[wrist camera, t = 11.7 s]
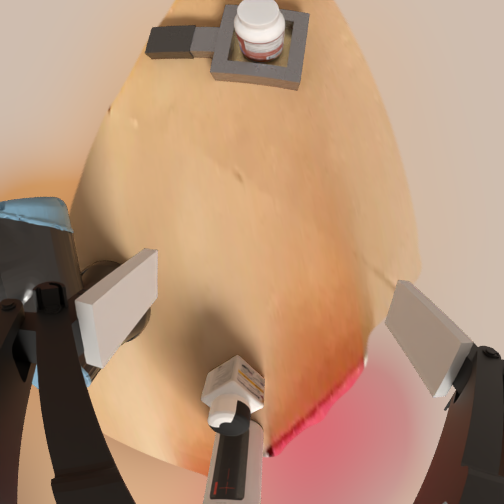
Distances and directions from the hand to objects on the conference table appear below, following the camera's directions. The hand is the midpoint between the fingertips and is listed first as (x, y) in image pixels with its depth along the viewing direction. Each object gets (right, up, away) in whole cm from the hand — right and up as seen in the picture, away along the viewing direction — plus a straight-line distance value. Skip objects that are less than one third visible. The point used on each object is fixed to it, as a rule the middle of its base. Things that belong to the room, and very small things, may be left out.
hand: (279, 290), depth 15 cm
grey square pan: (-5, +33, +20) cm, 39 cm away
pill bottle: (0, +31, +19) cm, 37 cm away
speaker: (-4, -38, +41) cm, 55 cm away
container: (-4, -21, +36) cm, 42 cm away
